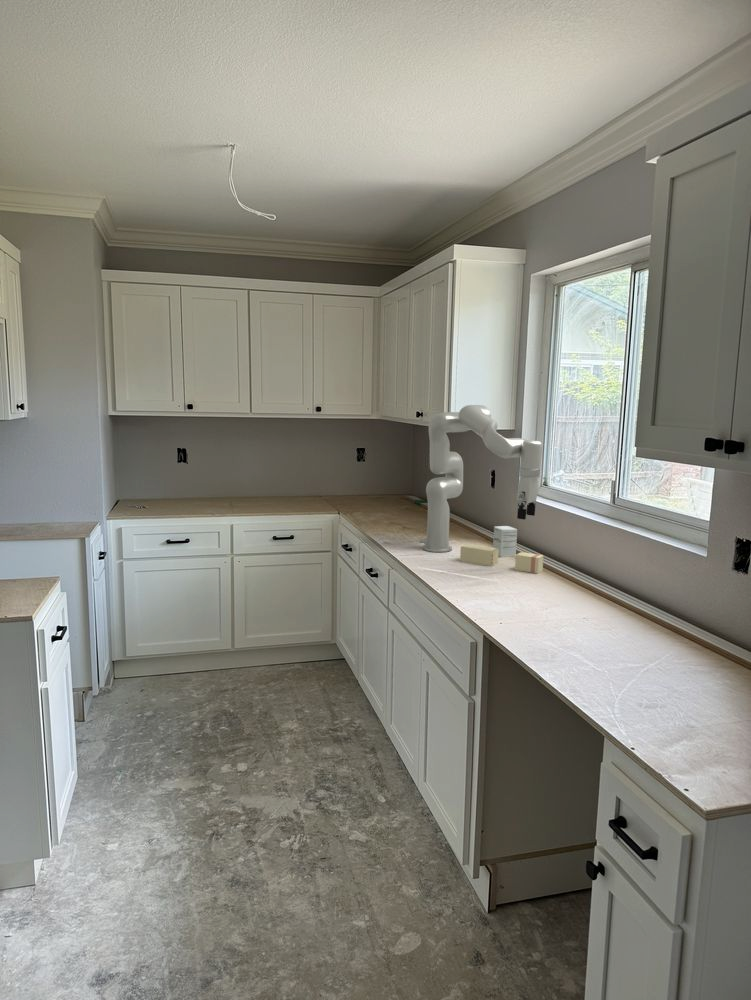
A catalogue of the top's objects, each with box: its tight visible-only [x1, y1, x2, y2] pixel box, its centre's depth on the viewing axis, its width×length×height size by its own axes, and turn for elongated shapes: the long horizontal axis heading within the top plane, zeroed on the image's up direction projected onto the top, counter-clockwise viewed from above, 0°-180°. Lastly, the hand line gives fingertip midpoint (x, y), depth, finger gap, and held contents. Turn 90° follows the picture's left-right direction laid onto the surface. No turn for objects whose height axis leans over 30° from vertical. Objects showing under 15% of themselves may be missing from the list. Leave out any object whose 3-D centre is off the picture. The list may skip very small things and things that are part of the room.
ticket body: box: [459, 543, 499, 567], centre depth 271 cm, size 14×6×6 cm, turn 57°
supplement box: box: [492, 525, 518, 558], centre depth 284 cm, size 7×7×13 cm
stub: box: [514, 551, 544, 574], centre depth 260 cm, size 9×6×6 cm, turn 57°
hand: (526, 517), depth 260 cm, fingers open, 9 cm apart
